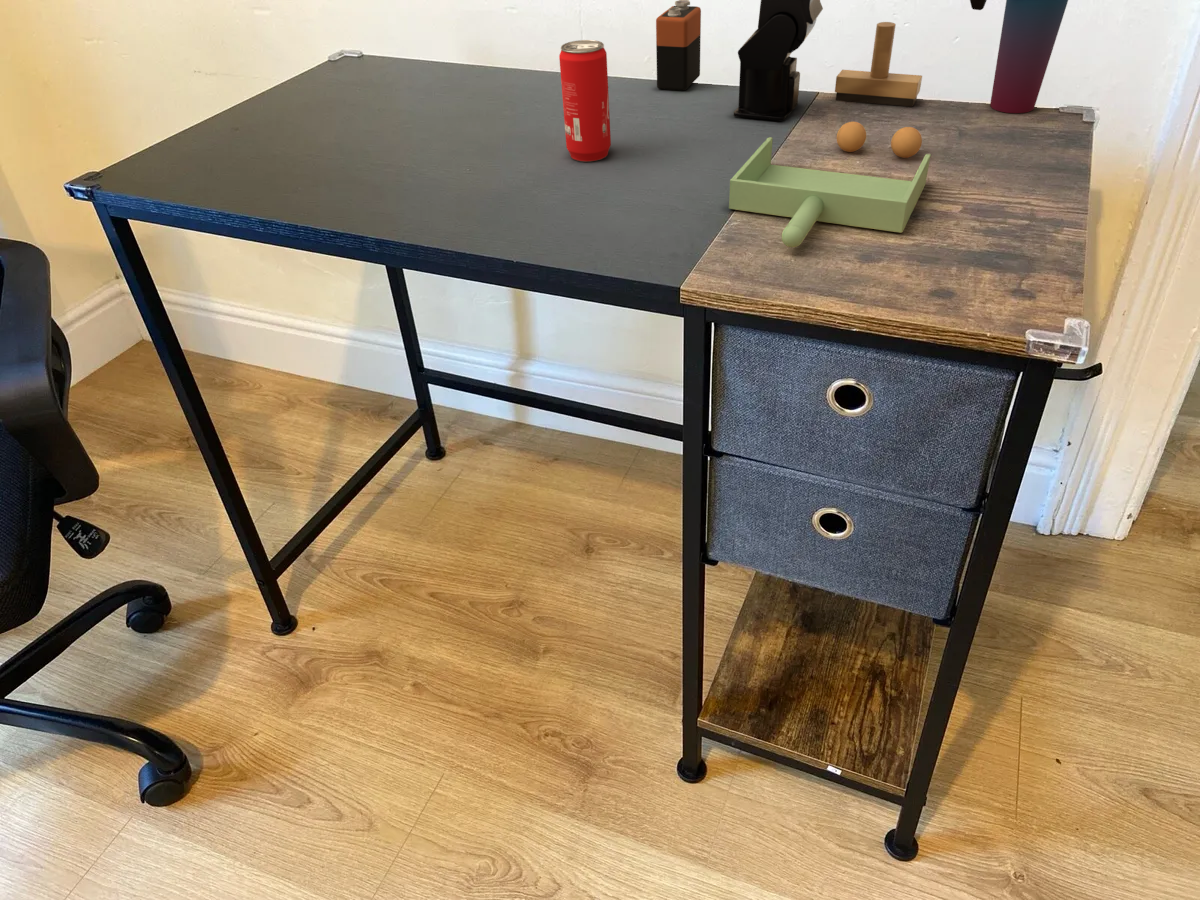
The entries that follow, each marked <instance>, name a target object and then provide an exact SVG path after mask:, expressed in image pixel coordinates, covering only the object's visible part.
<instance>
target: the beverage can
mask: <svg viewBox="0 0 1200 900" xmlns="http://www.w3.org/2000/svg"><path fill="white" fill-rule="evenodd" d="M607 55H608V54H607V51H606V49H605V43H604V42H602V41H599V40H595V39H580V40H573V41H569V42H565V43H563V44H562V45H560V52H559V55H558V58H559V59H558V60H559V70H560V83H561V85H560V86H561V96H562V109H563V122H564V133H565V145H566V150H567V151H568V153H569V156H570V158H571V159H572V160H574V161H576V162H580V163H592V162H597V161H601V160H603V159H605V158H608V156H609V150H610V148H611V146H612V139H611V135H612V134H611V117H610V99H609V98H610V97H609V75H608V58H607V57H608V56H607Z"/></svg>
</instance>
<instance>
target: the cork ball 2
mask: <svg viewBox="0 0 1200 900" xmlns="http://www.w3.org/2000/svg"><path fill="white" fill-rule="evenodd" d="M922 145H923V137H922V134H921V132H920V131H919V130H918V129H916V128H915V127H912V126H904V127H901V128H899V129H898V130H897V131H895V133H894V134H893V135H892V138H891V141H890V147H891V150H892V152H893V154H895V155H896V156H897V157H899V158H902V159H908V158H912V157H913V156H915V155H916V154H917V153H918V152H919V151H920V150H921V148H922Z"/></svg>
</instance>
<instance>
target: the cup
mask: <svg viewBox="0 0 1200 900" xmlns="http://www.w3.org/2000/svg"><path fill="white" fill-rule="evenodd" d="M1068 2H1069V0H1005V7H1004V13H1003V20H1002V24H1001V25H1002V27H1001V33H1000V38H999V45H998V51H997V59H996V65H995V70H994V77H993V83H992V90H991V96H990V104H989V106H990V108H991V109H992V110H994V111H996V112H997V111H998V112H1001V113H1006V114H1024V113H1025V114H1026V113H1029V112H1032V111H1033V110H1034V109H1035V107H1036V104H1037V100H1038V97H1039V94H1040V91H1041V88H1042V84H1043V81H1044V78H1045V75H1046V73H1047V69H1048V67H1049V62H1050V59H1051V57H1052V53H1053V50H1054V47H1055V43H1056V40H1057V38H1058V34H1059V32H1060V31H1059V30H1060V28H1061V24H1062V22H1063V18H1064V15H1065V11H1066V9H1067V6H1068Z"/></svg>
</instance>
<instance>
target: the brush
mask: <svg viewBox="0 0 1200 900" xmlns="http://www.w3.org/2000/svg"><path fill="white" fill-rule="evenodd" d="M895 33H896V23H894V22H891V21H881V22H878V23H876V28H875V35H874V42H873V49H872V58H871V65H870V71H866V70H865V71H864V70H853V69H852V70H851V69H841V70H840V72H839V73H838V74H837V75H836V77H835V84H834V86H835V87H834V93H835V94H836V96H835V100H836V101H842V102H843V101H844V102H853V103H864V104H875V105H887V106H888V105H889V106H900V107H911V108H913V106H914V105H915V103H916V102H917V99H918V95H919V94H920V91H921V86H922V80H923V75H919V74H907V73H904V74H903V73H895V72H894V73H893V72H890V66H891V60H892V52H893V45H894V39H895Z"/></svg>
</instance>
